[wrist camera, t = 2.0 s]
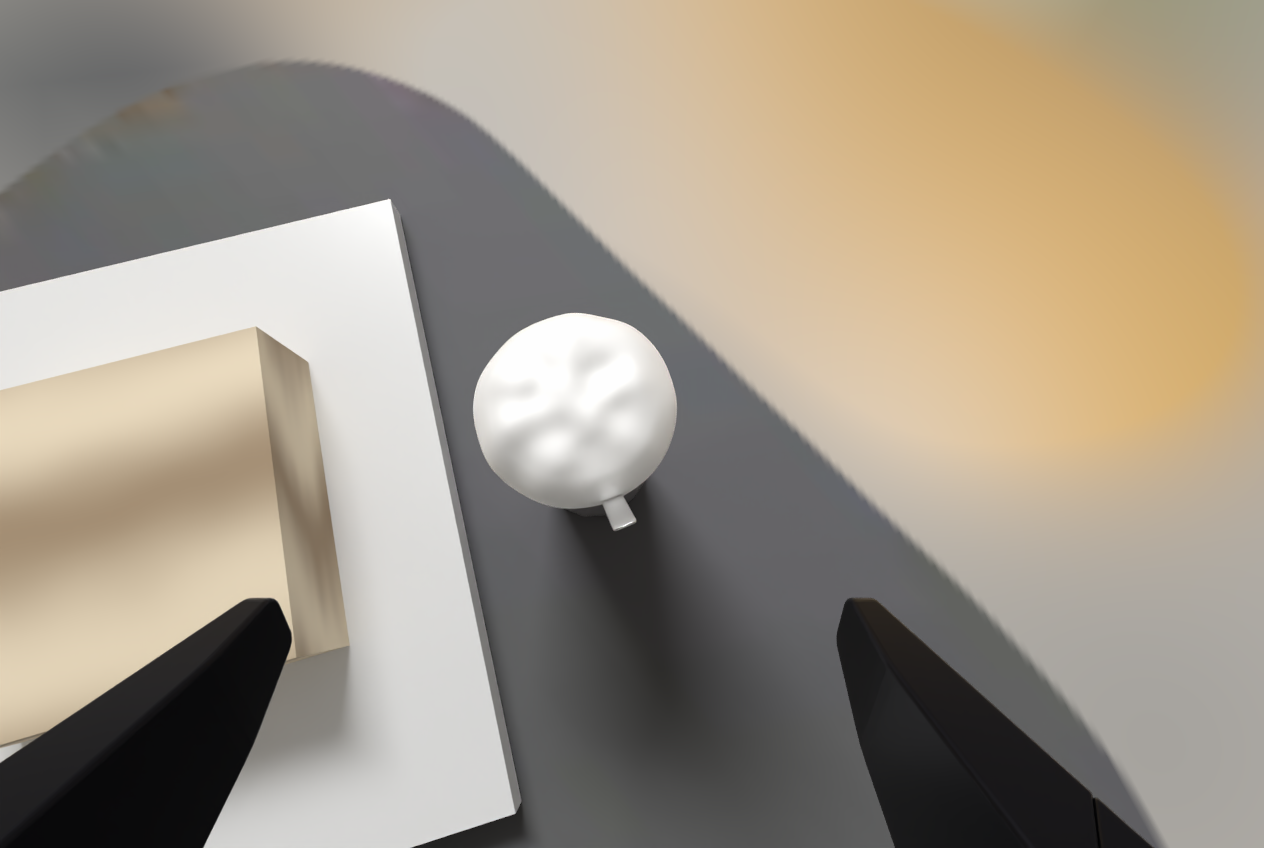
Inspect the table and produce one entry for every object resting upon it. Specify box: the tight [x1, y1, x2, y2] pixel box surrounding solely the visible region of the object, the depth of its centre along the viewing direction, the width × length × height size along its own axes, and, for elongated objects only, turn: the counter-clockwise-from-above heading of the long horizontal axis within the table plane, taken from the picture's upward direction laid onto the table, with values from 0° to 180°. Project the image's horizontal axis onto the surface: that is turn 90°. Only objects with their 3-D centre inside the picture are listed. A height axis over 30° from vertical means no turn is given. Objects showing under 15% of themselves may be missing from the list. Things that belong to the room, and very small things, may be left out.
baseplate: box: [0, 199, 522, 848], centre depth 19 cm, size 22×18×1 cm
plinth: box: [0, 326, 350, 748], centre depth 18 cm, size 10×10×3 cm
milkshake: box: [473, 313, 677, 531], centre depth 16 cm, size 4×5×10 cm
